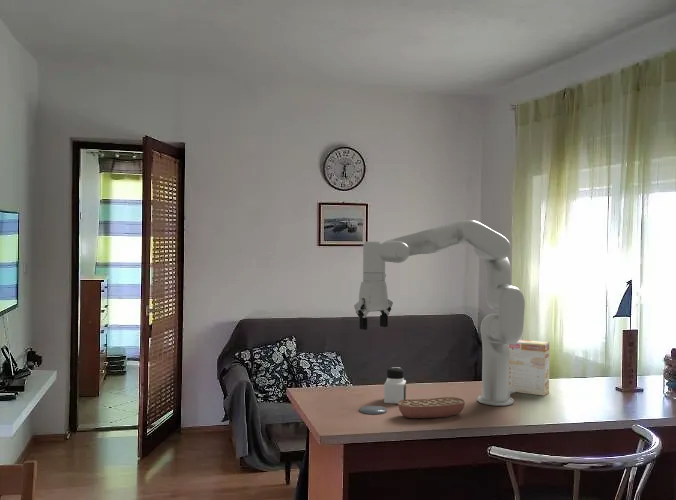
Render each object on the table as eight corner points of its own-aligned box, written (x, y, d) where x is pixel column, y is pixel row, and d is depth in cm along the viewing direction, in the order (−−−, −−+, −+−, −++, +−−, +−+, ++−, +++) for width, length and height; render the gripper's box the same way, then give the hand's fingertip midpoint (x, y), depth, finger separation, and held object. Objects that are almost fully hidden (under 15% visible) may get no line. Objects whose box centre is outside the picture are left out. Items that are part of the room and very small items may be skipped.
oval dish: (457, 410, 223) (457, 396, 223) (470, 418, 214) (470, 403, 214) (394, 415, 218) (394, 400, 218) (404, 423, 208) (404, 407, 208)
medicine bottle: (404, 404, 231) (404, 370, 231) (384, 403, 232) (384, 369, 232) (406, 399, 238) (406, 366, 238) (386, 398, 239) (386, 365, 239)
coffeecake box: (549, 392, 249) (550, 341, 249) (544, 396, 243) (545, 344, 243) (510, 387, 257) (511, 338, 257) (505, 391, 251) (505, 340, 251)
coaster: (373, 405, 229) (373, 404, 229) (392, 411, 222) (392, 409, 222) (354, 410, 223) (354, 408, 223) (373, 415, 216) (373, 414, 216)
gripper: (384, 276, 230) (383, 324, 230) (347, 278, 218) (347, 329, 219) (399, 277, 224) (399, 326, 224) (363, 279, 213) (362, 331, 213)
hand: (373, 328), depth 222 cm, fingers open, 9 cm apart
